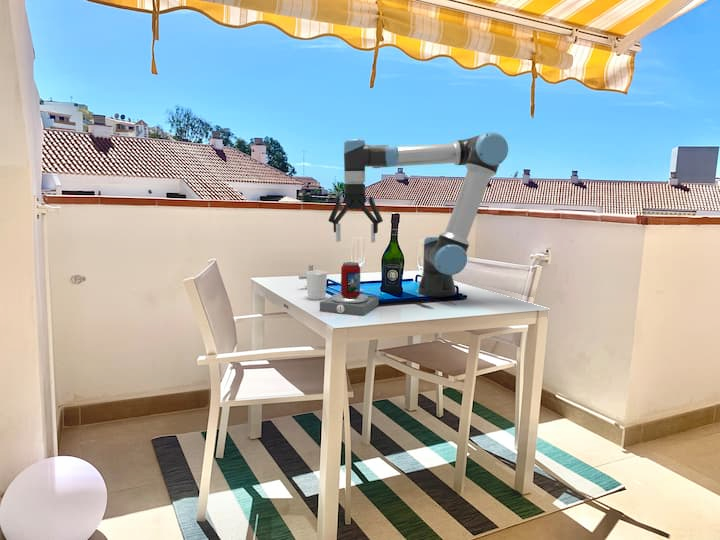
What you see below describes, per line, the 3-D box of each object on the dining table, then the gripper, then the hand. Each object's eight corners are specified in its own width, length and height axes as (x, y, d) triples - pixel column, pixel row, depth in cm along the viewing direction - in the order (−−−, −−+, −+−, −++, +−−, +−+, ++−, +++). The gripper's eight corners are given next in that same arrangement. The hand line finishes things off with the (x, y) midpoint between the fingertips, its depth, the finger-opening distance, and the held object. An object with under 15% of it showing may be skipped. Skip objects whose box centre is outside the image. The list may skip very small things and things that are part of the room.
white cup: (315, 294, 198) (315, 270, 196) (330, 297, 193) (331, 272, 191) (302, 298, 191) (302, 272, 190) (317, 301, 187) (317, 275, 185)
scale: (378, 305, 181) (378, 296, 181) (362, 316, 166) (362, 306, 165) (338, 301, 187) (338, 292, 186) (318, 311, 172) (318, 301, 171)
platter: (373, 297, 180) (373, 294, 180) (360, 305, 168) (360, 302, 168) (340, 294, 184) (340, 291, 184) (325, 301, 172) (325, 298, 172)
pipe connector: (296, 287, 212) (295, 263, 210) (318, 285, 216) (318, 262, 214) (303, 291, 203) (303, 267, 201) (326, 289, 207) (326, 266, 205)
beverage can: (353, 299, 171) (353, 265, 169) (337, 297, 175) (337, 263, 173) (363, 296, 177) (364, 263, 175) (347, 293, 181) (348, 261, 179)
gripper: (390, 183, 179) (390, 241, 183) (326, 183, 187) (328, 239, 190) (385, 183, 172) (385, 243, 176) (319, 183, 180) (320, 241, 183)
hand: (355, 241), depth 183 cm, fingers open, 13 cm apart
